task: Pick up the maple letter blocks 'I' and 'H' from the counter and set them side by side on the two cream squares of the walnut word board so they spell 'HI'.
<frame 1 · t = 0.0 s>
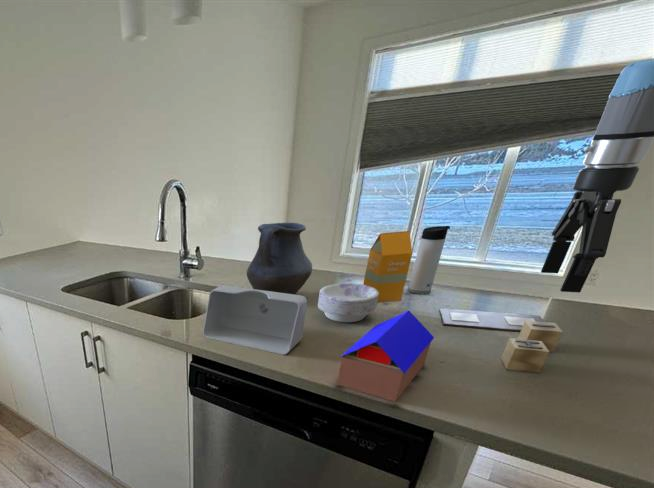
hand: (558, 281, 83), 16 cm above the countertop, tool pointing down, fingers open, 13 cm apart
letter I: (534, 345, 93), on the countertop
paper bowls: (344, 317, 117), on the countertop
letter H: (519, 365, 87), on the countertop
tank: (255, 335, 112), on the countertop
orange juice: (380, 298, 128), on the countertop
pitcher: (275, 299, 135), on the countertop
house: (381, 375, 88), on the countertop
travel mug: (419, 291, 130), on the countertop
word board: (490, 321, 107), on the countertop
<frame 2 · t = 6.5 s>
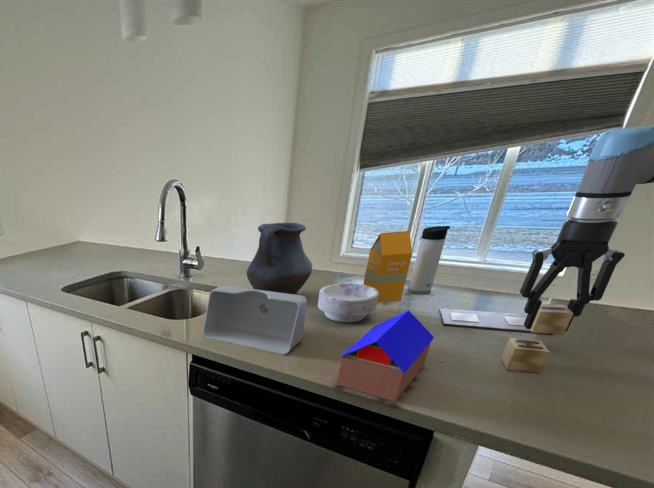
hand: (544, 327, 91), 5 cm above the countertop, tool pointing down, fingers closed on letter I, 5 cm apart
letter I: (544, 329, 91), point 4 cm above the countertop, touching gripper
everything else where it was.
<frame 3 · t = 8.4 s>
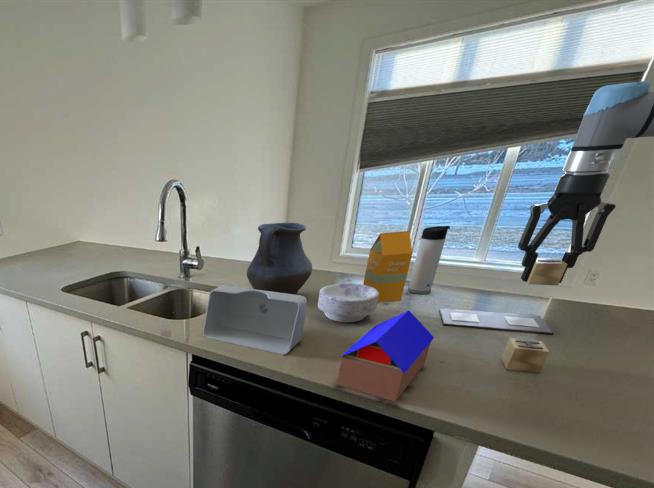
hand: (540, 280, 97), 12 cm above the countertop, tool pointing down, fingers closed on letter I, 5 cm apart
letter I: (539, 281, 97), point 12 cm above the countertop, touching gripper
everything else where it was.
when the fingers open (1 cm above the countertop, at t = 10.7 s): letter I stays where it is, resting on word board.
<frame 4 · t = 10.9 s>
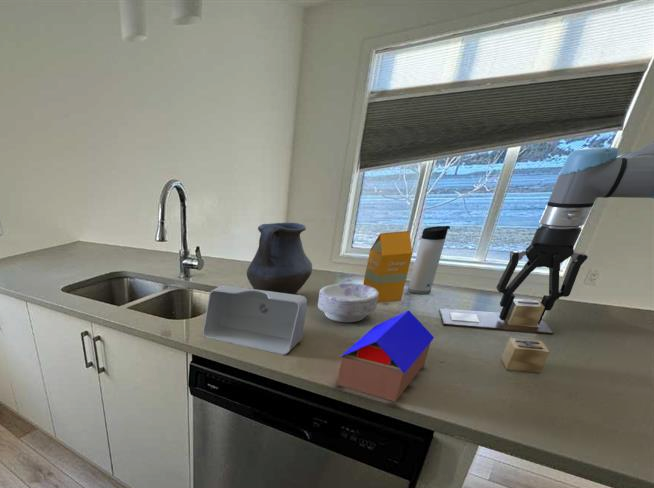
hand: (518, 320, 104), 1 cm above the countertop, tool pointing down, fingers open, 6 cm apart
letter I: (520, 321, 104), point 1 cm above the countertop, touching word board
everything else where it was.
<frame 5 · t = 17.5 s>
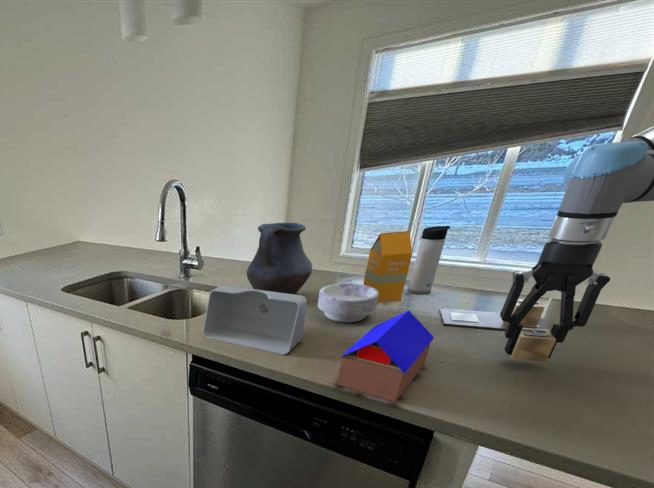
hand: (526, 353, 85), 3 cm above the countertop, tool pointing down, fingers closed on letter H, 5 cm apart
letter H: (525, 354, 85), point 3 cm above the countertop, touching gripper
everything else where it was.
when the fingers open (1 cm above the countertop, at t = 22.7 s): letter H stays where it is, resting on word board.
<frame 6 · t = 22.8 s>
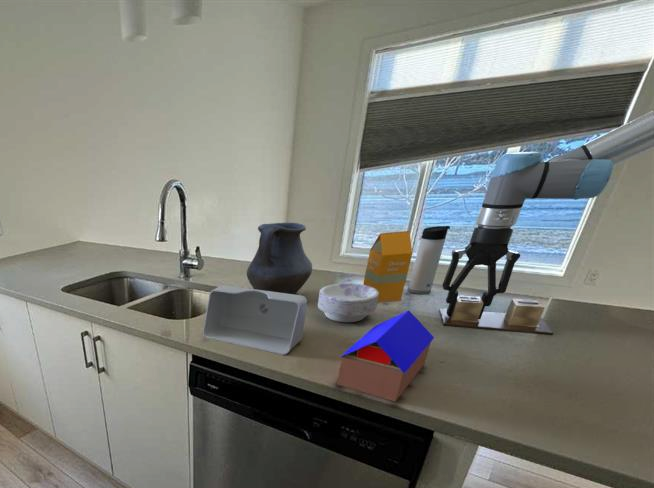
hand: (463, 315, 109), 1 cm above the countertop, tool pointing down, fingers open, 6 cm apart
letter H: (463, 316, 109), point 1 cm above the countertop, touching gripper, word board
everything else where it was.
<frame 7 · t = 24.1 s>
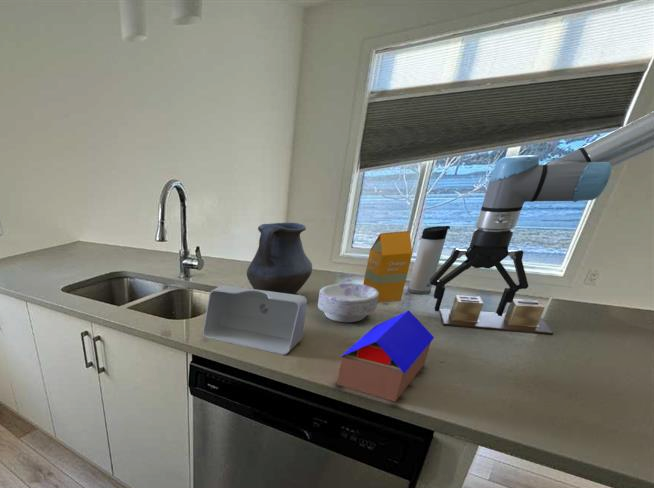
hand: (466, 312, 108), 2 cm above the countertop, tool pointing down, fingers open, 13 cm apart
letter H: (463, 316, 109), point 1 cm above the countertop, touching word board
everything else where it was.
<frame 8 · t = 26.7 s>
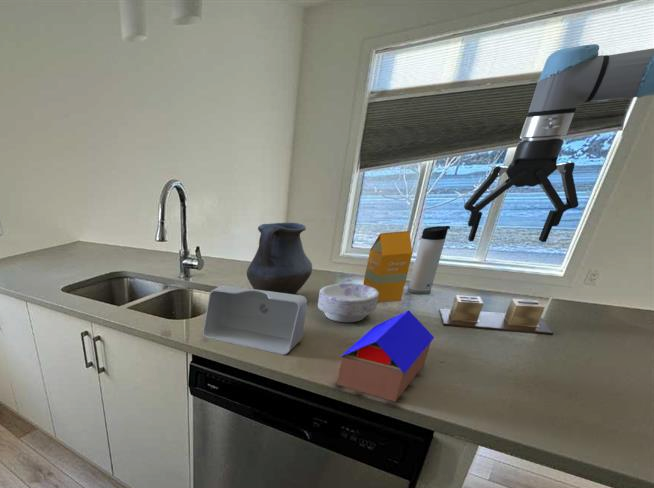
hand: (505, 240, 97), 21 cm above the countertop, tool pointing down, fingers open, 13 cm apart
nothing on the countertop moved.
at the end: letter I 0.2 cm from the target spot on the word board, point 0.7 cm above the word board's base; letter H 0.1 cm from the target spot on the word board, point 0.7 cm above the word board's base; letter H tilted 0° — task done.
